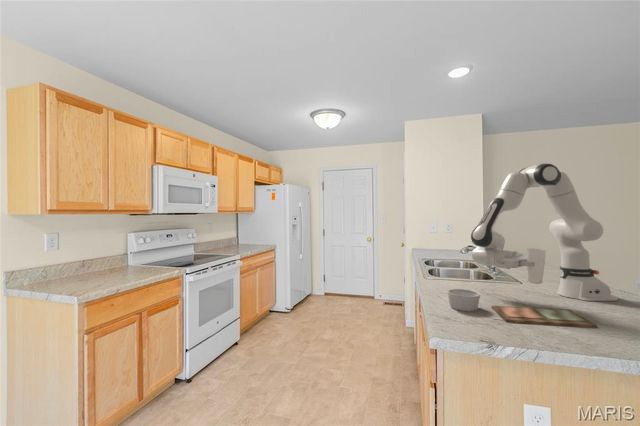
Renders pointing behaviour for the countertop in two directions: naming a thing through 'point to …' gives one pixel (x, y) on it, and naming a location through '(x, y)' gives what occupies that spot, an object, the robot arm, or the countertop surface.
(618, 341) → the countertop surface
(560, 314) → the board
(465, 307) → the ramekin
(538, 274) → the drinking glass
